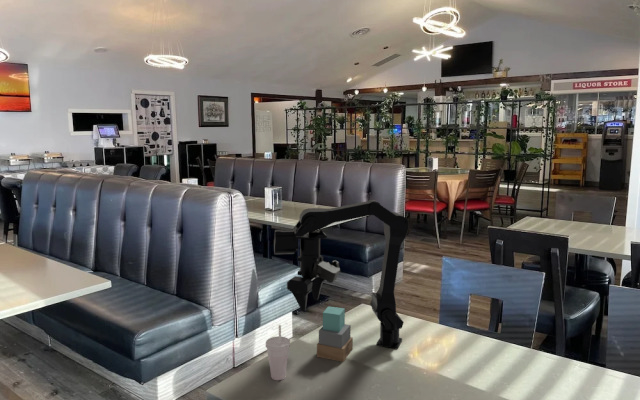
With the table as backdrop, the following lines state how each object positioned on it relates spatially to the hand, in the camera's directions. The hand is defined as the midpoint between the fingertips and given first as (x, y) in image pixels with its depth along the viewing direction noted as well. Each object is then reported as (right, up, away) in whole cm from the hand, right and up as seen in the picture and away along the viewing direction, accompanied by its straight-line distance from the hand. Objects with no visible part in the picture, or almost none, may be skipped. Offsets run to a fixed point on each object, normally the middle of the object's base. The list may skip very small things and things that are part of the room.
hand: (309, 305), depth 135 cm
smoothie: (-8, -16, -14) cm, 22 cm away
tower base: (+7, -14, -1) cm, 16 cm away
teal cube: (+7, -6, -2) cm, 9 cm away
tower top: (+7, -10, -2) cm, 12 cm away
